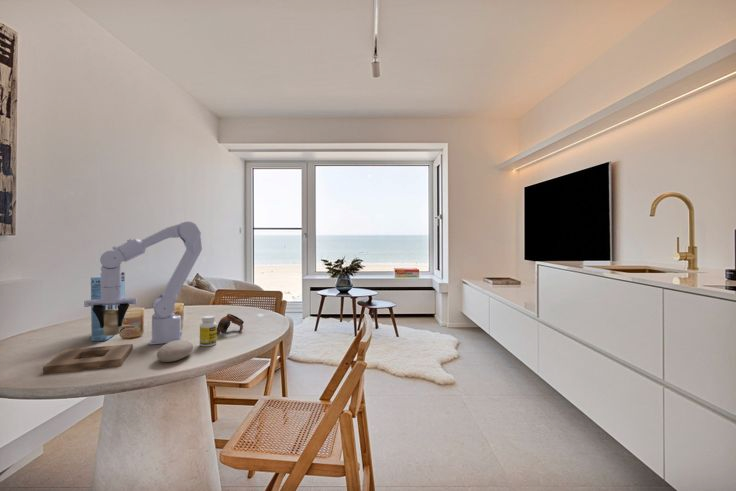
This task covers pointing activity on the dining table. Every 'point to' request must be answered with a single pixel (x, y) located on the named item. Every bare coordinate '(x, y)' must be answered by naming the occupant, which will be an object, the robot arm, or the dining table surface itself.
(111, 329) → the beige wooden cylinder
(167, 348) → the decorative stone
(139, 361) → the dining table surface
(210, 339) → the supplement bottle
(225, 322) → the brown arch
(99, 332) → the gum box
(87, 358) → the carrier board
